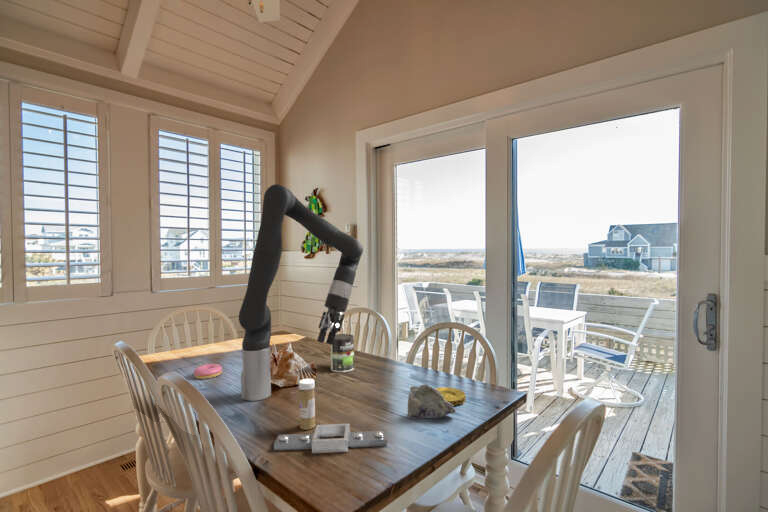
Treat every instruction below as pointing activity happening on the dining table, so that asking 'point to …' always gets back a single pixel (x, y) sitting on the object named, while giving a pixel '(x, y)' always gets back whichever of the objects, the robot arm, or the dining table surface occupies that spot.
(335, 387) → the dining table surface
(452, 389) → the gold slotted disc
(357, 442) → the right link bar
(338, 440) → the link socket
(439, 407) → the mineral rock
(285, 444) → the left link bar
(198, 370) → the doughnut
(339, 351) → the coffee can
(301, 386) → the sprinkles bottle
